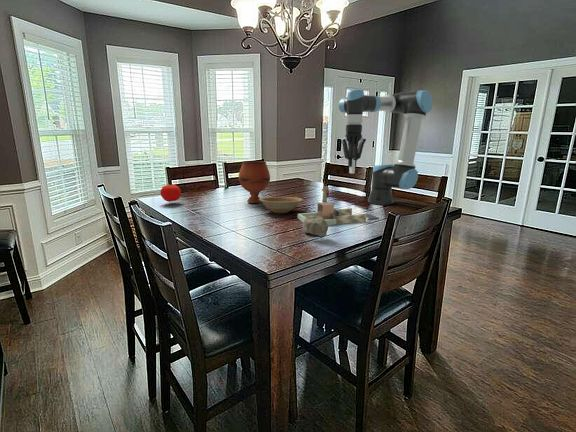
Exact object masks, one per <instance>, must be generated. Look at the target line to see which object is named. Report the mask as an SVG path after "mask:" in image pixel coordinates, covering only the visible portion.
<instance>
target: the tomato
mask: <svg viewBox="0 0 576 432" xmlns="http://www.w3.org/2000/svg"><path fill="white" fill-rule="evenodd" d="M159 194H160V197H161V198H162V199H163V200H164V201H166V202H173V201H175V202H176V201H178V200H179V199H180V198H181V197H182V190H181V188H180V187H179V186H178V185H176V184H171V183H169V184H166V185H164V186H162V187H161V189H160V192H159Z"/></svg>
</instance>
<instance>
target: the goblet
mask: <svg viewBox="0 0 576 432" xmlns="http://www.w3.org/2000/svg"><path fill="white" fill-rule="evenodd" d="M270 173H271V172H270V170H269V168H268V166H267V161H265V160H246V161H244V160H243V161H242V164H241V167H240V170H239V172H238V182H239V184H240V187H242V188H243V189H244V190H245V191H247V192H249V195H250V197H248V199H247V201H246V202H247V203H250V204H259V203H262V202H261V201H260V200H259V199H260V198H261V197H260V196H259V195H260V193H261V192H262V191H264V190H266V188H268V186H269V184H270V181H271V174H270Z"/></svg>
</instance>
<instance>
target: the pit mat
mask: <svg viewBox="0 0 576 432" xmlns="http://www.w3.org/2000/svg"><path fill="white" fill-rule="evenodd" d="M361 214H362V213H357V214H356V215H361ZM365 214H366V221H370V220H371V221H372V220H380V217H377V216H375V215H373V214H370V213H365Z"/></svg>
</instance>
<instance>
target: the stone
mask: <svg viewBox="0 0 576 432" xmlns="http://www.w3.org/2000/svg"><path fill="white" fill-rule="evenodd" d="M328 230H329V225H327V223H326V221H325V220H324V219H323V218H320V217H317V216H313V215H307V216H305V218H304V222H302V232H305V233H308V234H310V235H315V236H319V237H323V236H326V235H327V233H328Z"/></svg>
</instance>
